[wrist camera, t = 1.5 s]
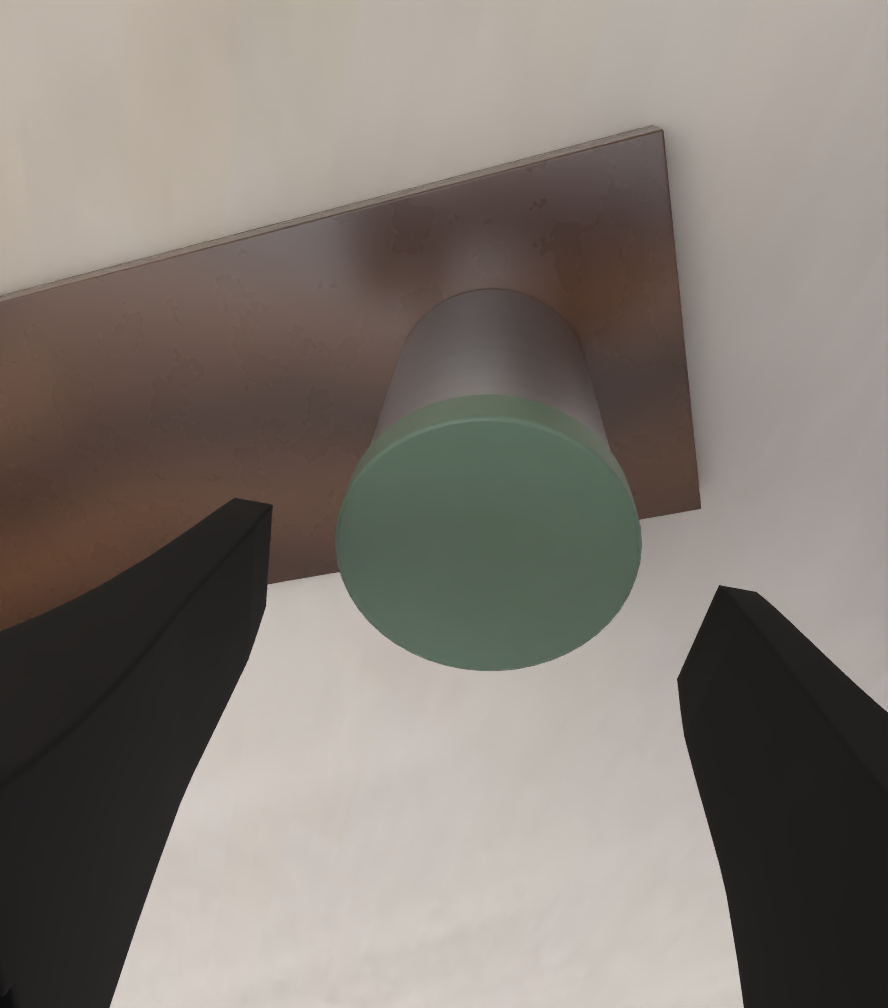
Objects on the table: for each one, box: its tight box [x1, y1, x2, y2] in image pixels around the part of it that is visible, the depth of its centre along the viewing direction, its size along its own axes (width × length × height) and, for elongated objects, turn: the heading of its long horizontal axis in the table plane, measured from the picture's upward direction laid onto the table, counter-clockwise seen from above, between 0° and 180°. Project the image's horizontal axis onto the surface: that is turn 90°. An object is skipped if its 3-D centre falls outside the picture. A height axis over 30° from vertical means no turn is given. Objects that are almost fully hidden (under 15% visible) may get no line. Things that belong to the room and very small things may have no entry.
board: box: [0, 125, 701, 631], centre depth 22 cm, size 10×24×1 cm, turn 104°
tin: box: [335, 289, 642, 671], centre depth 17 cm, size 5×5×8 cm
